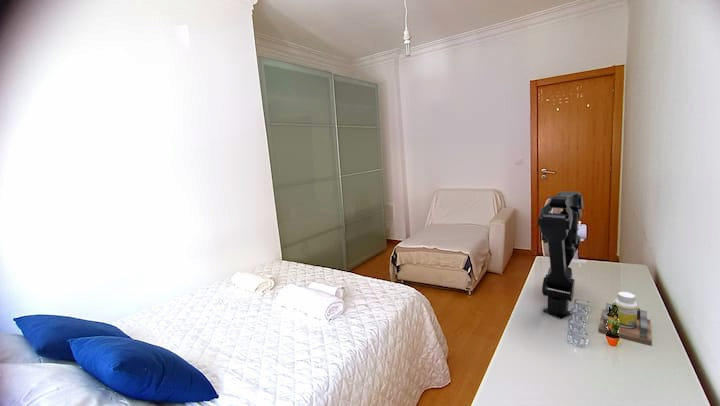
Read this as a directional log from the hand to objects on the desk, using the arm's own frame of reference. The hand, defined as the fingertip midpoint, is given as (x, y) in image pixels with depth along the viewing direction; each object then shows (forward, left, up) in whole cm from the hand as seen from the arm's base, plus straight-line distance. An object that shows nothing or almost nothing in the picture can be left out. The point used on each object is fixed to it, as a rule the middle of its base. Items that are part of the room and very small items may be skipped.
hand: (566, 265), depth 120 cm
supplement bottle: (-6, -22, -11) cm, 25 cm away
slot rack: (-6, -22, -12) cm, 26 cm away
